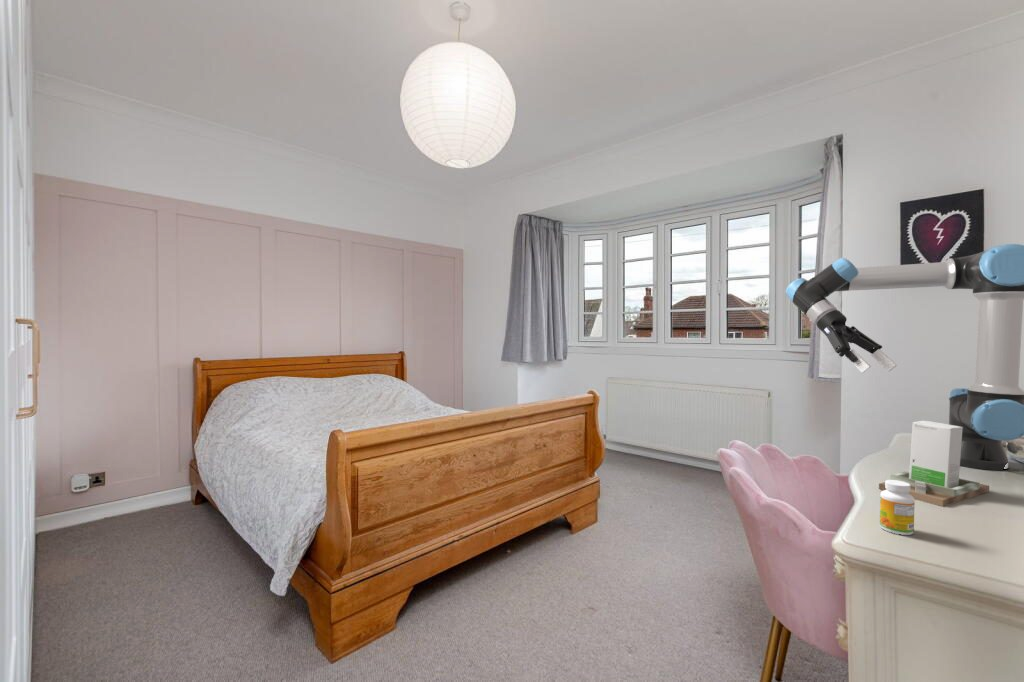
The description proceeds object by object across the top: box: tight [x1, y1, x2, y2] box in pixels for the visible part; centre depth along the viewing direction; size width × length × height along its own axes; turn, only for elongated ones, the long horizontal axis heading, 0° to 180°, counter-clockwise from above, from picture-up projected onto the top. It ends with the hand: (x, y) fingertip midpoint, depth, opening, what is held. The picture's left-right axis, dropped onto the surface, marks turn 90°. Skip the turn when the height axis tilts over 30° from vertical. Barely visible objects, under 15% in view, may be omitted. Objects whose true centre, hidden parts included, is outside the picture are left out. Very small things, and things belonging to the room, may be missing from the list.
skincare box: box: [908, 420, 963, 488], centre depth 121 cm, size 8×7×16 cm
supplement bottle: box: [879, 479, 916, 536], centre depth 96 cm, size 5×5×10 cm
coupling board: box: [878, 470, 990, 507], centre depth 121 cm, size 24×13×3 cm, turn 116°
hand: (880, 369), depth 136 cm, fingers open, 13 cm apart
